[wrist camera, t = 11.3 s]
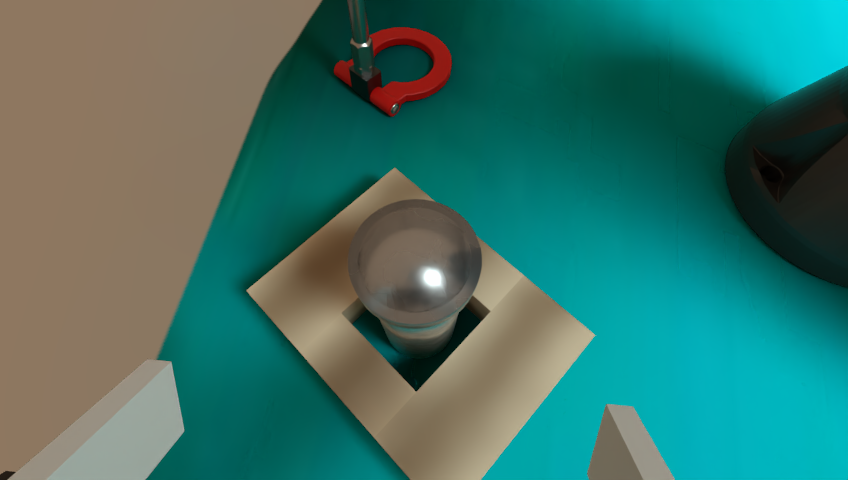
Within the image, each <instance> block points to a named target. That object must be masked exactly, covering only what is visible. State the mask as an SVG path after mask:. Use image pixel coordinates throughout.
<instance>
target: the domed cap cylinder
mask: <svg viewBox="0 0 848 480" xmlns="http://www.w3.org/2000/svg"><path fill="white" fill-rule="evenodd" d="M481 268H482V253H481V247H480V244H479V241H478V238H477V236H476V234H475V232H474V231H473V229H472V227H471V226H470V225H469V223H468V222H467V221H466V220H465V219H464V218H463V217H462V216H461V215H460V214H458V213H457V212H456V211H454V210H453V209H451V208H449V207H447V206H445V205H443V204H440V203H437V202H434V201H430V200H423V199H409V200H402V201H397V202H394V203H391V204H388V205H386V206H384V207H382V208H380V209H379V210H377V211H375V212H374V213H373V214H371V215H370V216H369V217H368V218H367V219H366V220H365V221H364V222H363V223H362V224H361V226H360V227H359V228H358V230H357V231H356V233H355V235H354V237H353V239H352V241H351V244H350V248H349V253H348V272H349V277H350V280H351V283H352V285H353V288H354V290H355V292H356V294H357V295H358V297H359V299H360V300H361V302H362V303H363V305H364V306H365V307H366V308H367V309H368V310H369V311H370V312H371V313H372V314H373V315H375V316H376V317H378V318H379V319H380V322H381V324H382V326H383V328H384V330H385V333H386V335H387V337H388V339H389V341H390V343H391V344H392V346H393V347H394V348H395V349H396V350H397V351H398V352H400V353H401V354H403V355H405V356H408V357H410V358H417V359H422V358H428V357H431V356H434V355H436V354H438V353H439V352H440V351H442V350H443V349H444V348H445V347H446V346H447V344H448V343H449V341H450V339H451V337H452V334H453V331H454V327H455V324H456V320H457V317H458V313H459V312H460V311H461V310H462V309H463V308H464V307H465V305H466V304H467V303H468V302H469V300H470V299H471V297H472V295H473V293H474V291H475V289H476V286H477V284H478V281H479V277H480V274H481Z"/></svg>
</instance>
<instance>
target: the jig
mask: <svg viewBox="0 0 848 480" xmlns="http://www.w3.org/2000/svg"><path fill="white" fill-rule="evenodd" d="M409 199H423V200H430V201H434V200H433V199H432V198H430V197H429V196H428V195H427V194H426V193H424V192H423V191H422V190H421V189H420V188H418V187H417V186H416V185H415V184H414V183H412V182H411V181H410V180H409V179H408V178H406V177H405V176H404V175H403V174H402V173H400V172H399V171H398V170H397V169H396V168H393V169H392V170H391V171H390V172H389V173H387V174H386V175H385V176H384V177H383V178H381V179H380V180H379V181H378V182H377V183H375V184H374V185H373V186H372V187H371V188H369V189H368V190H367V191H366V192H364V193H363V194H362V195H361V196H360V197H358V198H357V199H356V200H355V201H354V202H352V203H351V204H350V205H349V206H348V207H346V208H345V209H344V210H343V211H342V212H340V213H339V214H338V215H337V216H336V217H334V218H333V219H332V220H331V221H329V222H328V223H327V224H326V225H325V226H323V227H322V228H321V229H320V230H319V231H317V232H316V233H315V234H314V235H313V236H311V237H310V238H309V239H308V240H307V241H305V242H304V243H303V244H302V245H300V246H299V247H298V248H297V249H296V250H294V251H293V252H292V253H291V254H290V255H288V256H287V257H286V258H285V259H284V260H282V261H281V262H280V263H279V264H278V265H276V266H275V267H274V268H273V269H272V270H270V271H269V272H268V273H267V274H265V275H264V276H263V277H262V278H261V279H259V280H258V281H257V282H256V283H255V284H253V285H252V286H251V287H250V288H249V289H247V290H246V291H247V292H248V293H249V294H250V296H251V297H252V298H253V299H254V300H255V301H256V302H257V304H258V305H259V306H260V307H261V308H262V309H263V311H264V312H265V313H266V314H267V315H268V316H269V317H270V319H271V320H272V321H273V322H274V323H275V324H276V325H277V327H278V328H279V329H280V330H281V331H282V332H283V334H284V335H285V336H286V337H287V338H288V339H289V340H290V342H291V343H292V344H293V345H294V346H295V347H296V348H297V350H298V351H299V352H300V353H301V354H302V355H303V357H304V358H305V359H306V360H307V361H308V362H309V363H310V365H311V366H312V367H313V368H314V369H315V370H316V371H317V373H318V374H319V375H320V376H321V377H322V378H323V380H324V381H325V382H326V383H327V384H328V385H329V386H330V388H331V389H332V390H333V391H334V392H335V393H336V395H337V396H338V397H339V398H340V399H341V400H342V401H343V403H344V404H345V405H346V406H347V407H348V408H349V409H350V411H351V412H352V413H353V414H354V415H355V416H356V418H357V419H358V420H359V421H360V422H361V423H362V424H363V426H364V427H365V428H366V429H367V430H368V431H369V432H370V434H371V435H372V436H373V437H374V438H375V439H376V441H377V442H378V443H379V444H380V445H381V446H382V447H383V449H384V450H385V451H386V452H387V453H388V454H389V455H390V457H391V458H392V459H393V460H394V461H395V462H396V464H397V465H398V466H399V467H400V468H401V469H402V470H403V472H404V473H405V474H406V475H407V476H408V477H409V478H410V480H481V479H482V477H483V476H484V475H485V474H486V472H487V471H488V470H489V469H490V467H491V466H492V465H493V464H494V462H495V461H496V460H497V458H498V457H499V456H500V455H501V453H502V452H503V451H504V450H505V448H506V447H507V446H508V445H509V443H510V442H511V441H512V440H513V438H514V437H515V436H516V434H517V433H518V432H519V431H520V429H521V428H522V427H523V426H524V424H525V423H526V422H527V421H528V419H529V418H530V417H531V416H532V414H533V413H534V412H535V411H536V409H537V408H538V407H539V405H540V404H541V403H542V402H543V400H544V399H545V398H546V397H547V395H548V394H549V393H550V392H551V390H552V389H553V388H554V387H555V385H556V384H557V383H558V382H559V380H560V379H561V378H562V376H563V375H564V374H565V373H566V371H567V370H568V369H569V368H570V366H571V365H572V364H573V363H574V361H575V360H576V359H577V358H578V356H579V355H580V354H581V353H582V351H583V350H584V349H585V347H586V346H587V345H588V344H589V342H590V341H591V340H592V339H593V337H594V336H595V334H593V333H592V332H591V331H590V330H589V329H587V328H586V327H585V326H584V325H583V324H581V323H580V322H579V321H578V320H577V319H575V318H574V317H573V316H572V315H571V314H569V313H568V312H567V311H566V310H565V309H563V308H562V307H561V306H560V305H559V304H557V303H556V302H555V301H554V300H553V299H551V298H550V297H549V296H548V295H547V294H545V293H544V292H543V291H542V290H541V289H539V288H538V287H537V286H536V285H535V284H533V283H532V282H531V281H530V280H529V279H527V278H526V277H525V276H524V275H523V274H521V273H520V272H519V271H518V270H517V269H515V268H514V267H513V266H512V265H511V264H509V263H508V262H507V261H506V260H505V259H503V258H502V257H501V256H500V255H499V254H498V253H496V252H495V251H494V250H493V249H492V248H490V247H489V246H488V245H487V244H486V243H484V242H483V241H482V240H481V239H480V238H478V237H477V238H478V241H479V244H480V247H481V253H482V268H481V274H480V277H479V281H478V284H477V286H476V289H475V291H474V293H473V295H472V297H471V299H470V300H469V302H468V303H467V304H466V305H465V307H466V308H468V309H469V310H470V311H471V312H472V313H473V314H474V315H475V316H476V317H477V318H479V319H480V320H481V322H480V324H479V325H478V326H477V327H476V328H475V329H474V330H473V331H472V332H471V333H470V334H469V335H468V337H467V338H466V339H465V340H464V341H463V342H462V343H461V344H460V345H459V346H458V347H457V348H456V350H455V351H454V352H453V353H452V354H451V355H450V356H449V357H448V358H447V359H446V360H445V361H444V363H443V364H442V365H441V366H440V367H439V368H438V369H437V370H436V371H435V372H434V373H433V374H432V376H431V377H430V378H429V379H428V380H427V381H426V382H425V383H424V384H423V385H422V386H421V387H420V389H419V390H418V391H417V392H416V391H415V390H414V389H413V388H412V387H411V386H410V385H409V384H408V383H407V382H406V381H405V380H404V379H403V377H402V376H401V375H400V374H399V373H398V372H397V371H396V370H395V369H394V368H393V367H392V366H391V365H390V364H389V363H388V362H387V361H386V360H385V359H384V358H383V356H382V355H381V354H380V353H379V352H378V351H377V350H376V349H375V348H374V347H373V346H372V345H371V344H370V343H369V342H368V341H367V340H366V339H365V338H364V336H363V335H362V334H361V333H360V332H359V331H358V330H357V329H356V328H355V327H354V326H353V325H352V323H353V322H354V321H355V320H356V319H358V318H359V317H360V316H361V315H362V314H363V313H364V312H365V311H366V310H367V308H366V307H365V306H364V305H363V303H362V302H361V300H360V299H359V297H358V295H357V294H356V292H355V290H354V288H353V285H352V283H351V280H350V277H349V272H348V253H349V248H350V244H351V241H352V239H353V237H354V235H355V233H356V231H357V230H358V228H359V227H360V226H361V224H362V223H363V222H364V221H365V220H366V219H367V218H368V217H369V216H370V215H371V214H373V213H374V212H375V211H377V210H379V209H380V208H382V207H384V206H386V205H388V204H391V203H394V202H397V201H402V200H409ZM434 202H435V201H434Z"/></svg>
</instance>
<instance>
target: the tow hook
mask: <svg viewBox="0 0 848 480" xmlns="http://www.w3.org/2000/svg"><path fill="white" fill-rule="evenodd" d="M347 1H348V8H349V15H350V22H351V29H352V39H351V42H350V46H351V53H352V59H351V60H350V61H348V62H347V63H346V62H345V61H339V62H338V63H337V64H336V65H335V68H334V74H335V75H336V76H337V77H338V78H340V79H341V80H342V81H344V82H345V83H346V84H348V85H349V86H350V87H352V89H353V90H354V91H355V92H356V93H358V94H359V95H360V96H362V97H363V98H364V99H366V100H367V101H369V102H370V103H373V104H375V105H376V106H377V107H379V108H380V109H381V110H383V111H384V112H385V113H387V114H388V115H389V116H394V115H396V114H397V113H398V111H399V110H400V107H401V105H402V104H403V103H404V102H405V101H414V100H418V99H422V98H426V97H428V96H430V95H432V94H434V93H436V92H437V91H438V90H440V89H441V88H442V87H443V86H444V85H445V84H446V82H447V80H448V79H449V77H450V72H451V67H452V60H451V54H450V52H449V50H448V48H447V47H446V45H445V44H444V43H443V42H442V41H441V40H440V39H439V38H437V37H435V36H433V35H432V34H430V33H428V32H425V31H422V30H419V29H414V28H407V27H401V28H390V29H385V30H381V31H379V32H377V33H374V34H372V35H370V36H369V32H368V22H367V12H366V2H365V0H347ZM394 45H411V46H415V47H418V48H421V49H422V50H424V51H425V52H427V53H428V54H429V55H430V56H431V58H432V60H433V62H434V66H433V68H432V70H431V71H430V73H428V74H427V75H426V76H425V77H423V78H421V79H419V80H416V81H412V82H390V83H389V84H387V85H386V86H385V87H383V88H382V81H381V71H380V70H379V69H377V68H376V67H375V62H374V57H375V56H376V54H377V53H378V52H380V51H381V50H382V49H384V48H387V47H389V46H394Z"/></svg>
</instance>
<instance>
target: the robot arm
mask: <svg viewBox="0 0 848 480" xmlns="http://www.w3.org/2000/svg"><path fill="white" fill-rule="evenodd" d="M725 168H726V178H727V183H728V187H729V190H730V193H731V195H732V198H733V200H734V202H735V204H736V206H737V208H738V209H739V211H740V213H741V214H742V216H743V217H744V219H745V220H746V221H747V223H748V224H749V225H750V226H751V228H752V229H753V230H754V231H755V232H756V233H757V234H758V235H759V236H760V237H761V238H762V239H763V240H764V241H765V242H766V243H767V244H768V245H769V246H770V247H771V248H773V249H774V250H775V251H776V252H778V253H779V254H780V255H782V256H783V257H784V258H786V259H787V260H789V261H790V262H792V263H793V264H795V265H796V266H798V267H800V268H802V269H803V270H805V271H807V272H809V273H811V274H813V275H815V276H817V277H820V278H822V279H824V280H827V281H829V282H832V283H835V284H838V285H841V286H844V287H848V66H846V67H844V68H842V69H840V70H838V71H836V72H834V73H832V74H830V75H828V76H826V77H824V78H822V79H820V80H818V81H816V82H814V83H812V84H810V85H808V86H806V87H804V88H802V89H800V90H798V91H796V92H794V93H792V94H790V95H788V96H786V97H784V98H782V99H780V100H778V101H776V102H774V103H773V104H771V105H769V106H768V107H767V108H765V109H764V110H762V111H761V112H760V113H759V114H758V115H757V116H755V117H754V118H753V119H752V120H751V121H750V122H749V123H748V124H747V125H746V126H745V127H744V128H743V129H742V130H740V131H739V133H738V134H737V135H736V136H735V137H734V139H733V140H732V142H731V144H730V146H729V149H728V152H727V156H726V165H725ZM183 432H184V426H183V421H182V415H181V410H180V405H179V400H178V394H177V389H176V384H175V379H174V373H173V368H172V363H171V362H170V361H160V360H150V359H147V360H146V361H145V362H143V363H142V364H141V365H140V366H139V367H138V368H137V369H135V370H134V371H133V372H132V373H131V374H129V375H128V376H127V377H126V378H125V379H124V380H123V381H121V382H120V383H119V384H118V385H117V386H116V387H114V388H113V389H112V390H111V391H110V392H109V393H108V394H106V395H105V396H104V397H103V398H102V399H100V400H99V401H98V402H97V403H96V404H95V405H93V406H92V407H91V408H90V409H89V410H88V411H87V412H85V413H84V414H83V415H82V416H81V417H80V418H78V419H77V420H76V421H75V422H74V423H73V424H72V425H70V426H69V427H68V428H67V429H66V430H64V431H63V432H62V433H61V434H60V435H59V436H58V437H57V438H55V439H54V440H53V441H52V442H51V443H49V444H48V445H47V446H46V447H45V448H44V449H43V450H41V451H40V452H39V453H38V454H37V455H35V456H34V457H33V458H32V459H31V460H30V461H28V462H27V463H26V464H25V465H24V466H23V467H22V468H21V469H19V470H18V471H17V472H9V471H5V472H4V473H2V474H1V475H0V480H146V478H147V477H148V476H149V475H150V473H151V472H152V471H153V470H154V468H155V467H156V466H157V465H158V463H159V462H160V461H161V460H162V458H163V457H164V456H165V455H166V453H167V452H168V451H169V450H170V448H171V447H172V446H173V445H174V443H175V442H176V441H177V440H178V438H179V437H180V436H181V435H182V433H183ZM587 474H588V477H589V480H675V479H674V477H673V476H672V474H671V472H670V470H669V469H668V467H667V465H666V463H665V462H664V460H663V458H662V456H661V455H660V453H659V451H658V450H657V448H656V446H655V444H654V443H653V441H652V439H651V437H650V436H649V434H648V432H647V430H646V429H645V427H644V425H643V423H642V422H641V420H640V418H639V416H638V415H637V413H636V411H635V409H634V408H633V407H631V406H621V405H611V404H606V407H605V410H604V414H603V418H602V421H601V425H600V429H599V432H598V436H597V440H596V443H595V447H594V451H593V454H592V458H591V462H590V465H589V469H588V473H587Z"/></svg>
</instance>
